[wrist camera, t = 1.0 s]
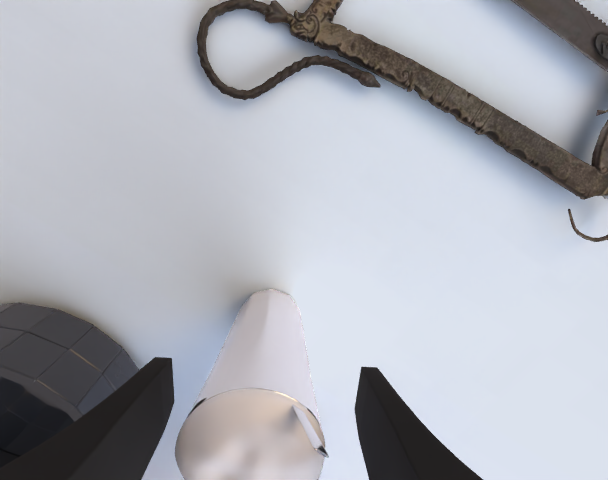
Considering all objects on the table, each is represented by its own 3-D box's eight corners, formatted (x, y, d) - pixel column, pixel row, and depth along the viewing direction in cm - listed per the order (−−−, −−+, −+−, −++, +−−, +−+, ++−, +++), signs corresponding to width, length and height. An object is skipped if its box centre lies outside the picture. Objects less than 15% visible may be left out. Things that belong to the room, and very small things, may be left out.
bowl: (146, 479, 21) (109, 566, 17) (-53, 453, 20) (-147, 540, 16) (162, 320, 18) (119, 380, 13) (-80, 279, 16) (-212, 329, 12)
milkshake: (339, 299, 17) (391, 497, 8) (276, 363, 19) (257, 602, 9) (273, 248, 16) (244, 404, 7) (212, 319, 18) (114, 535, 8)
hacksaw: (739, 142, 15) (784, 143, 14) (584, 309, 18) (609, 323, 17) (301, -216, 11) (302, -268, 10) (183, 70, 14) (170, 62, 12)
